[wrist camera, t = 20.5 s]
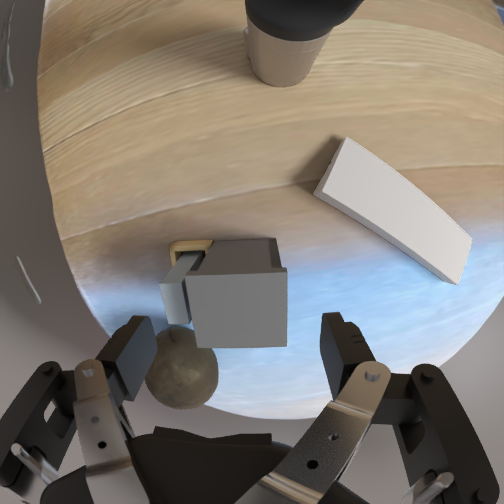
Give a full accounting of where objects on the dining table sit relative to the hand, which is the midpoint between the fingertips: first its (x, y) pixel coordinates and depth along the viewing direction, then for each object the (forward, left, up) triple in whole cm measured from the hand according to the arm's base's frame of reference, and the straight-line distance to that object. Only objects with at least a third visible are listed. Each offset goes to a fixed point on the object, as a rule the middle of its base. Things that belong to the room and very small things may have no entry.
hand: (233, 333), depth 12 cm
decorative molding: (+19, +20, -33) cm, 43 cm away
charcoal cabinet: (+4, -10, -32) cm, 34 cm away
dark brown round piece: (+11, -27, -32) cm, 43 cm away
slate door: (0, -14, -32) cm, 35 cm away
